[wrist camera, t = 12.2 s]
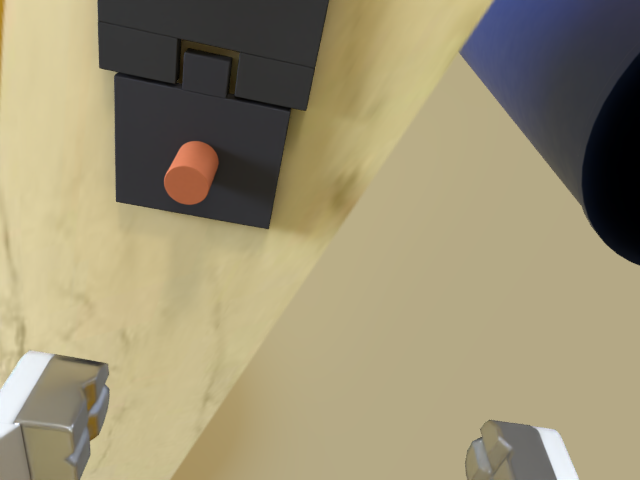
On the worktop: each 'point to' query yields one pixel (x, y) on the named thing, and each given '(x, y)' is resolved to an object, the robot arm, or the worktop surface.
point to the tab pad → (203, 120)
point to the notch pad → (218, 41)
